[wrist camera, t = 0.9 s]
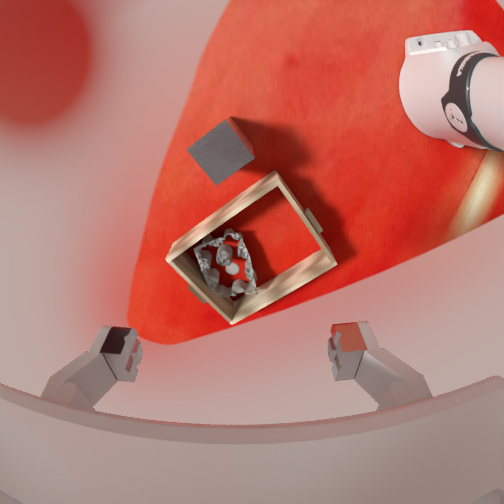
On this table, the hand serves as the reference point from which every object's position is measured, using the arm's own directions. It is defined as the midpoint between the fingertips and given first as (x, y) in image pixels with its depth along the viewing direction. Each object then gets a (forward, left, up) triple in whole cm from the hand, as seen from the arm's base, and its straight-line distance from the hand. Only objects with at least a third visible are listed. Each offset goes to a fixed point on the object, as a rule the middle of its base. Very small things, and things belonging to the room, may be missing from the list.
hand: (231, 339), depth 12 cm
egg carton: (+11, +11, -32) cm, 35 cm away
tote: (+7, +11, -31) cm, 34 cm away
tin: (0, -4, -31) cm, 32 cm away
